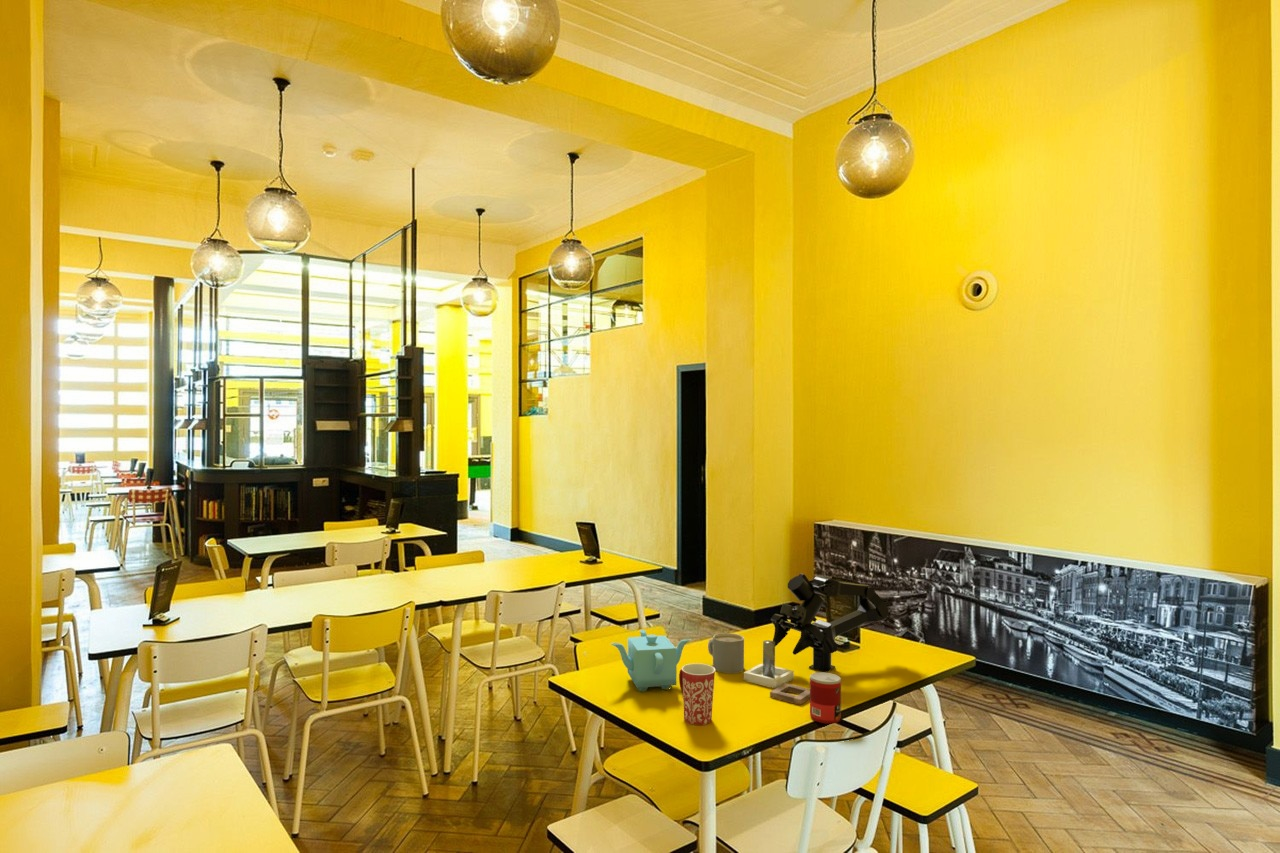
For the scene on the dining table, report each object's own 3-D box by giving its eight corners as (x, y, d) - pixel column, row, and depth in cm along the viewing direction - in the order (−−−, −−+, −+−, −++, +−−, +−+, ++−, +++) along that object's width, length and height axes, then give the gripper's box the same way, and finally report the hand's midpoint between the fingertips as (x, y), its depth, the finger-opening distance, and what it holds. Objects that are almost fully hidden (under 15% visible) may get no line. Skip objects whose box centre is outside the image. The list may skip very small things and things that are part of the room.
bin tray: (761, 671, 223) (761, 663, 223) (793, 679, 216) (793, 670, 216) (743, 680, 215) (743, 672, 215) (776, 688, 208) (776, 680, 208)
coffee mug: (750, 670, 224) (750, 639, 225) (725, 675, 219) (725, 643, 220) (725, 658, 236) (725, 629, 236) (700, 663, 231) (701, 632, 231)
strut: (770, 675, 218) (770, 639, 218) (777, 678, 215) (777, 642, 215) (760, 676, 216) (760, 641, 217) (767, 680, 213) (767, 644, 213)
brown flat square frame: (785, 688, 208) (785, 683, 208) (814, 695, 202) (814, 690, 203) (770, 697, 201) (770, 691, 201) (800, 705, 195) (800, 699, 195)
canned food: (842, 725, 181) (842, 682, 182) (810, 722, 183) (810, 680, 183) (839, 714, 189) (839, 673, 189) (809, 711, 191) (809, 671, 191)
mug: (722, 723, 182) (722, 671, 183) (692, 729, 178) (693, 676, 178) (696, 706, 193) (696, 657, 194) (667, 712, 189) (668, 662, 190)
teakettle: (662, 700, 198) (662, 648, 198) (607, 687, 208) (608, 637, 208) (693, 681, 214) (693, 633, 214) (641, 669, 224) (641, 623, 224)
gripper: (774, 588, 229) (749, 627, 223) (816, 599, 213) (790, 642, 207) (792, 609, 233) (768, 648, 227) (835, 621, 217) (810, 663, 211)
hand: (783, 650), depth 218 cm, fingers open, 9 cm apart
